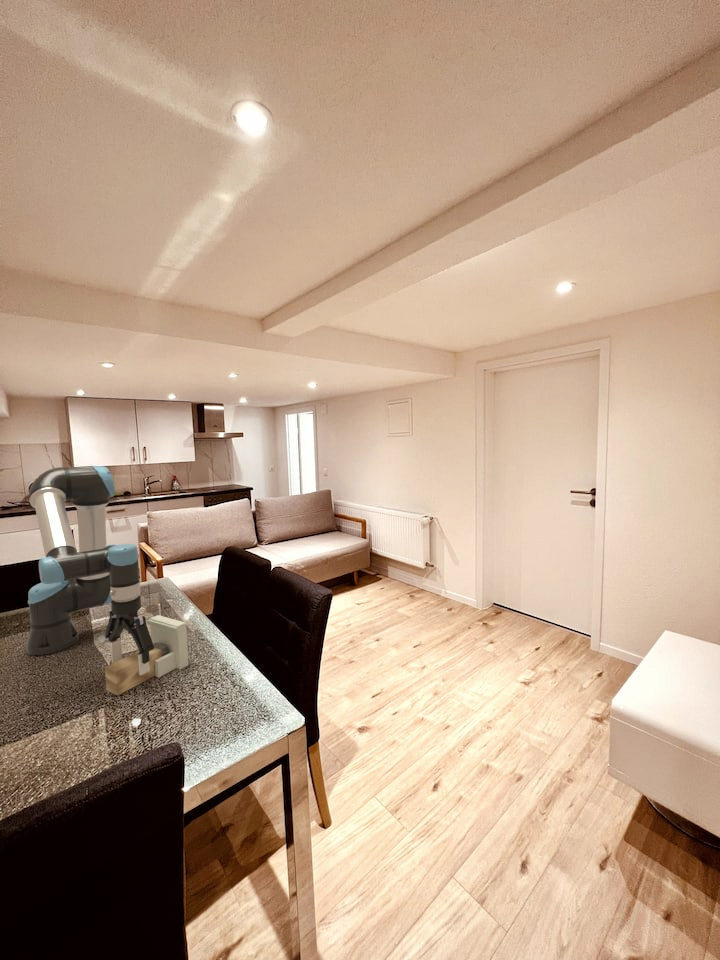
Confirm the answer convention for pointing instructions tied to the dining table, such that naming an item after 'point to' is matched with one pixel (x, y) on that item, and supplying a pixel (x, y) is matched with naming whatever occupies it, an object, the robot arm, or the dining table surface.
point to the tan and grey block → (131, 670)
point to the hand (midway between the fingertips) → (130, 667)
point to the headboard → (169, 643)
